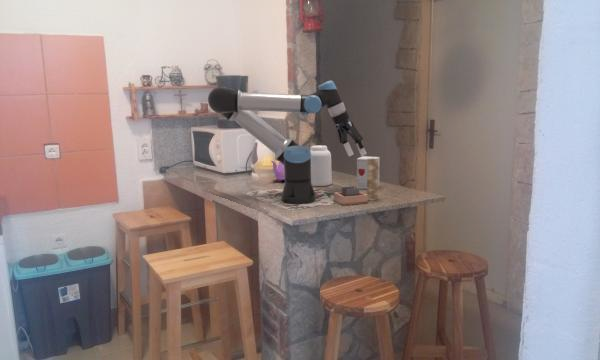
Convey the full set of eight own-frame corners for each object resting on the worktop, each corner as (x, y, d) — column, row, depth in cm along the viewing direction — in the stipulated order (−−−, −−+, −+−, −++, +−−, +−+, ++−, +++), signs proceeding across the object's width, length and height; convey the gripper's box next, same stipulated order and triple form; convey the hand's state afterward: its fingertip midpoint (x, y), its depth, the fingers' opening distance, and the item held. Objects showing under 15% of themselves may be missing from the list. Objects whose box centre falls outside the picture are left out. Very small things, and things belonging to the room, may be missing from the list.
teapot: (280, 185, 249) (279, 161, 247) (263, 182, 260) (262, 159, 257) (308, 180, 262) (308, 157, 260) (291, 177, 273) (291, 155, 270)
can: (322, 187, 240) (321, 147, 236) (302, 185, 248) (301, 146, 244) (336, 183, 250) (335, 145, 246) (316, 181, 257) (315, 144, 254)
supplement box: (356, 188, 235) (356, 158, 233) (362, 185, 243) (362, 155, 241) (373, 189, 231) (374, 159, 229) (379, 186, 239) (380, 156, 236)
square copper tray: (343, 205, 201) (343, 191, 199) (333, 200, 211) (333, 186, 210) (367, 203, 204) (367, 189, 203) (356, 198, 214) (356, 184, 213)
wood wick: (369, 200, 209) (369, 159, 205) (367, 199, 211) (367, 158, 208) (378, 199, 210) (378, 158, 207) (375, 198, 212) (375, 158, 209)
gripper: (357, 107, 210) (376, 151, 214) (334, 112, 234) (352, 152, 237) (343, 114, 208) (362, 158, 212) (322, 119, 232) (340, 159, 235)
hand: (357, 155), depth 225 cm, fingers open, 13 cm apart
